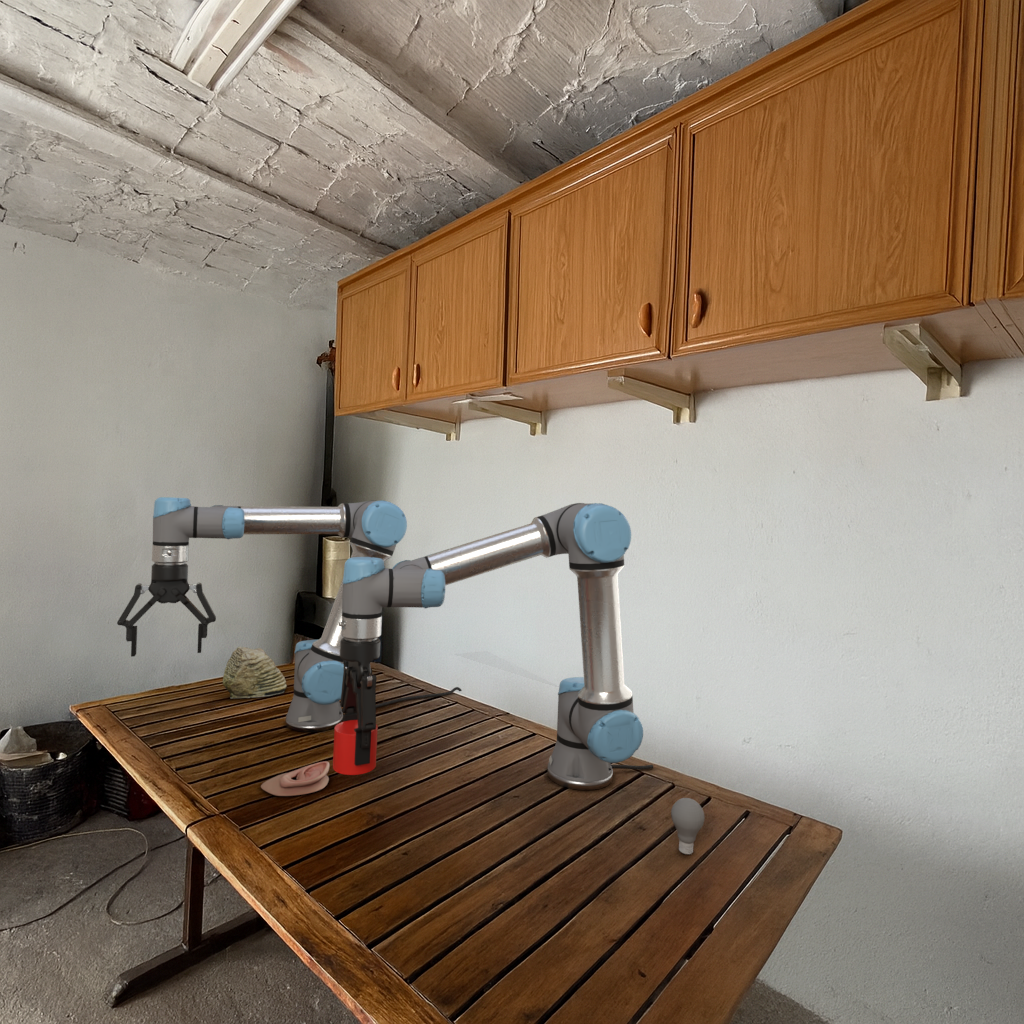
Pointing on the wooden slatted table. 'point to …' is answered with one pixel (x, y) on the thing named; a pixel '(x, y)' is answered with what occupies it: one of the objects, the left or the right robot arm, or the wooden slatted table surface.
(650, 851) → the wooden slatted table surface
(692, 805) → the light bulb
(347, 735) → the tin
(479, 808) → the wooden slatted table surface
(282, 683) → the fossil
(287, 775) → the anatomical model
